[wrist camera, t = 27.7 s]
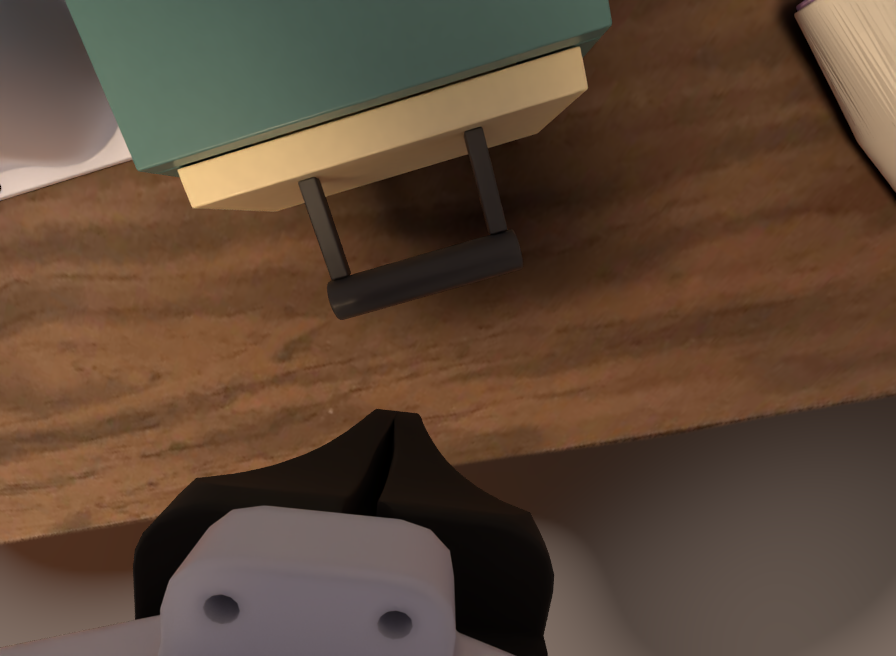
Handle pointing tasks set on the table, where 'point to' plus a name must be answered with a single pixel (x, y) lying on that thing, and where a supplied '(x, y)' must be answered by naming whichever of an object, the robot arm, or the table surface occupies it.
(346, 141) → the drawer
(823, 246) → the table surface
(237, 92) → the cabinet
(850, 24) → the infrared thermometer
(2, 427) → the table surface
